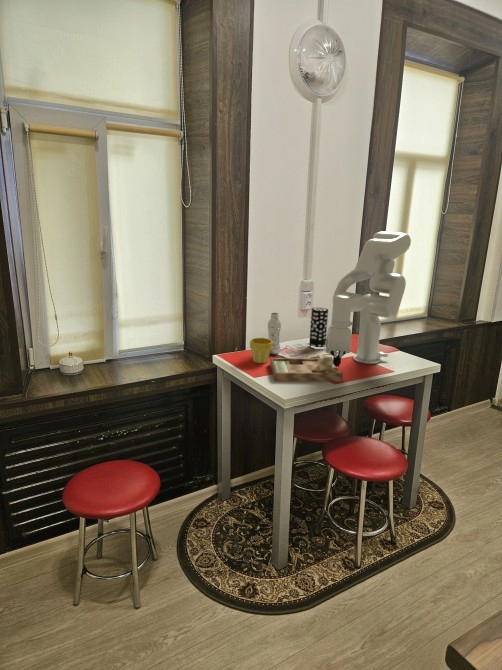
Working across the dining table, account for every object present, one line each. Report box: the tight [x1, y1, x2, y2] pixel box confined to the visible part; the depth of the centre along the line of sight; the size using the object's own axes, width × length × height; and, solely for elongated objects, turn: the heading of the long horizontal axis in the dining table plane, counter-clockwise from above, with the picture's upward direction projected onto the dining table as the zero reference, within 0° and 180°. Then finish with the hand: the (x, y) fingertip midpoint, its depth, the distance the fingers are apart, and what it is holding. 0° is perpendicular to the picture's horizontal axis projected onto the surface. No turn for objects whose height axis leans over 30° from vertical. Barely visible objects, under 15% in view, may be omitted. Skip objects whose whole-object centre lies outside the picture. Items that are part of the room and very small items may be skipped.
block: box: [317, 354, 333, 370], centre depth 188 cm, size 5×5×5 cm
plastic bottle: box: [267, 312, 282, 355], centre depth 211 cm, size 6×7×20 cm
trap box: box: [269, 357, 344, 382], centre depth 189 cm, size 28×19×3 cm
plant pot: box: [249, 337, 273, 364], centre depth 201 cm, size 10×10×10 cm
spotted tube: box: [308, 307, 329, 348], centre depth 223 cm, size 8×8×20 cm
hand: (336, 365), depth 189 cm, fingers closed
